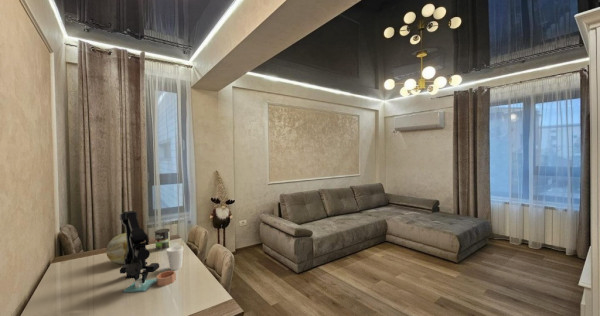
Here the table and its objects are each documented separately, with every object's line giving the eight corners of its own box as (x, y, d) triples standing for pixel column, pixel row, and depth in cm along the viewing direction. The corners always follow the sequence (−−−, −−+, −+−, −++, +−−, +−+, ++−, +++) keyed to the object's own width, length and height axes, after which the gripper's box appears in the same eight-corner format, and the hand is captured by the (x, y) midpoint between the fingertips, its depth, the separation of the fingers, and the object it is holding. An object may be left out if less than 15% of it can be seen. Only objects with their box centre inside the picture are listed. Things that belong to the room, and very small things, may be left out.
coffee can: (164, 251, 190) (163, 232, 190) (152, 250, 192) (151, 232, 192) (173, 246, 200) (172, 228, 200) (162, 245, 202) (161, 228, 202)
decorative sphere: (142, 263, 170) (141, 234, 169) (105, 272, 158) (104, 240, 158) (141, 254, 186) (140, 227, 185) (108, 261, 175) (106, 233, 174)
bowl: (153, 286, 137) (153, 278, 137) (162, 278, 146) (162, 271, 146) (170, 286, 137) (169, 278, 137) (178, 278, 146) (177, 270, 146)
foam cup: (177, 272, 153) (176, 251, 153) (164, 271, 155) (163, 251, 155) (187, 265, 163) (186, 245, 162) (175, 265, 164) (173, 245, 164)
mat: (120, 294, 131) (120, 293, 131) (137, 281, 144) (137, 280, 144) (145, 293, 131) (145, 292, 131) (159, 280, 144) (159, 279, 144)
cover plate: (123, 291, 132) (123, 283, 132) (137, 281, 143) (137, 273, 143) (144, 291, 132) (144, 283, 132) (156, 280, 143) (156, 273, 143)
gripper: (111, 262, 130) (112, 292, 130) (146, 261, 129) (148, 290, 130) (126, 253, 141) (127, 281, 141) (159, 252, 141) (160, 279, 141)
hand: (140, 283), depth 138 cm, fingers open, 3 cm apart
